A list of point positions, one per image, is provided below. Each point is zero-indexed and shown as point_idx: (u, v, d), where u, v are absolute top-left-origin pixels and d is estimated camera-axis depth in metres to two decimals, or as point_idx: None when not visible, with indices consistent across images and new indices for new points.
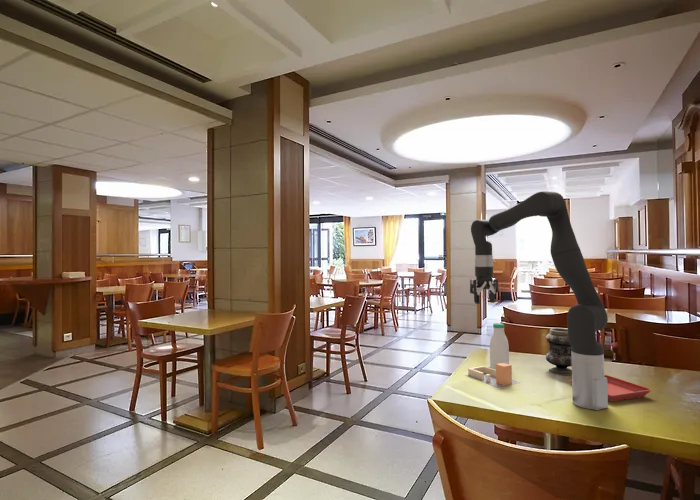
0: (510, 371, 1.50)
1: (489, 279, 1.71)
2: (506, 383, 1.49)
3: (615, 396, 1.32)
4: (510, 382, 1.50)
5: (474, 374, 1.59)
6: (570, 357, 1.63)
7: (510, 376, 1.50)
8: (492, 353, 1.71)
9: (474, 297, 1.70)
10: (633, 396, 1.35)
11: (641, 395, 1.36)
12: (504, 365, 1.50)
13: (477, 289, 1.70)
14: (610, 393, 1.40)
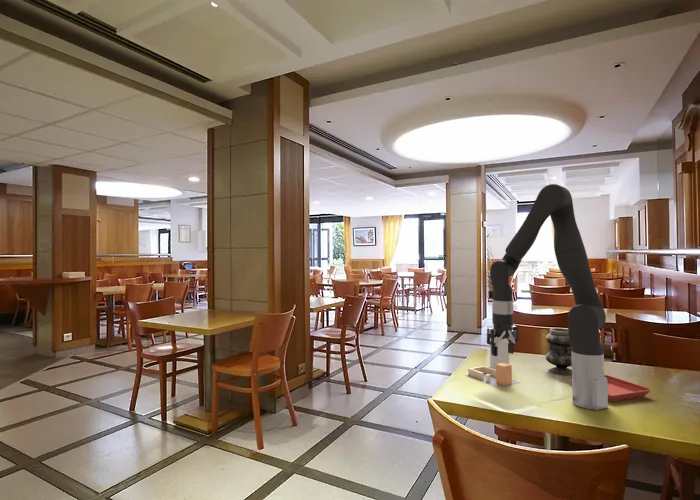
0: (510, 371, 1.50)
1: (508, 327, 1.51)
2: (506, 383, 1.49)
3: (615, 396, 1.32)
4: (510, 382, 1.50)
5: (474, 374, 1.59)
6: (570, 357, 1.63)
7: (510, 376, 1.50)
8: None
9: (491, 348, 1.50)
10: (633, 396, 1.35)
11: (641, 395, 1.36)
12: (504, 365, 1.50)
13: (495, 339, 1.50)
14: (610, 393, 1.40)
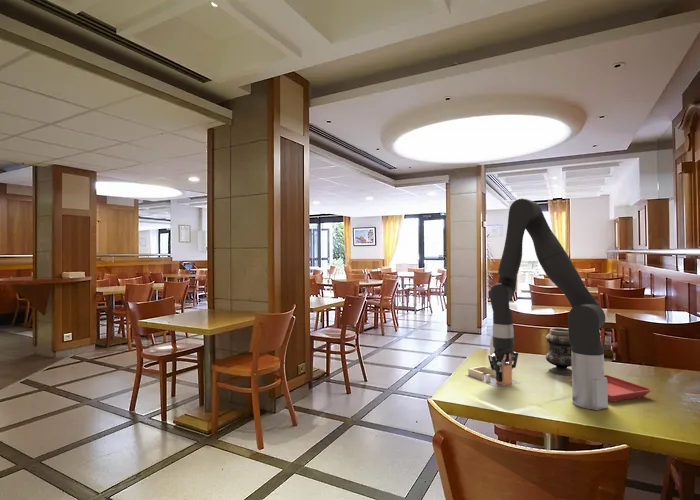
0: (510, 371, 1.50)
1: (509, 351, 1.51)
2: (506, 383, 1.49)
3: (615, 396, 1.32)
4: (510, 382, 1.50)
5: (474, 374, 1.59)
6: (570, 357, 1.63)
7: (510, 376, 1.50)
8: (492, 353, 1.71)
9: (496, 374, 1.50)
10: (633, 396, 1.35)
11: (641, 395, 1.36)
12: (504, 365, 1.50)
13: (498, 364, 1.50)
14: (610, 393, 1.40)
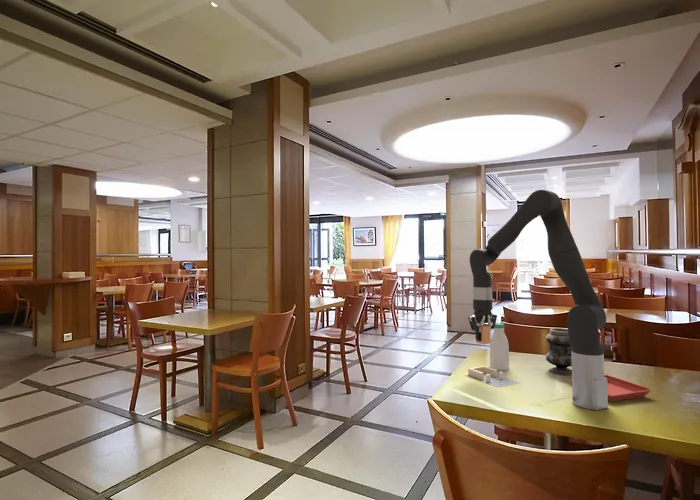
0: (489, 331, 1.59)
1: (488, 312, 1.61)
2: (485, 342, 1.58)
3: (615, 396, 1.32)
4: (489, 342, 1.59)
5: (474, 374, 1.59)
6: (570, 357, 1.63)
7: (489, 336, 1.59)
8: (492, 353, 1.71)
9: (476, 334, 1.59)
10: (633, 396, 1.35)
11: (641, 395, 1.36)
12: (483, 326, 1.59)
13: (478, 325, 1.59)
14: (610, 393, 1.40)
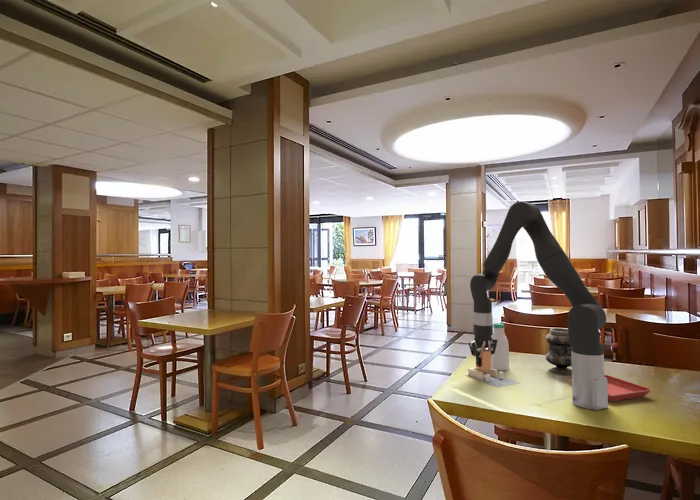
0: (489, 356, 1.59)
1: (488, 338, 1.60)
2: (485, 368, 1.58)
3: (615, 396, 1.32)
4: (489, 367, 1.59)
5: (474, 374, 1.59)
6: (570, 357, 1.63)
7: (489, 361, 1.59)
8: None
9: (476, 359, 1.59)
10: (633, 396, 1.35)
11: (641, 395, 1.36)
12: (483, 351, 1.59)
13: None
14: (610, 393, 1.40)
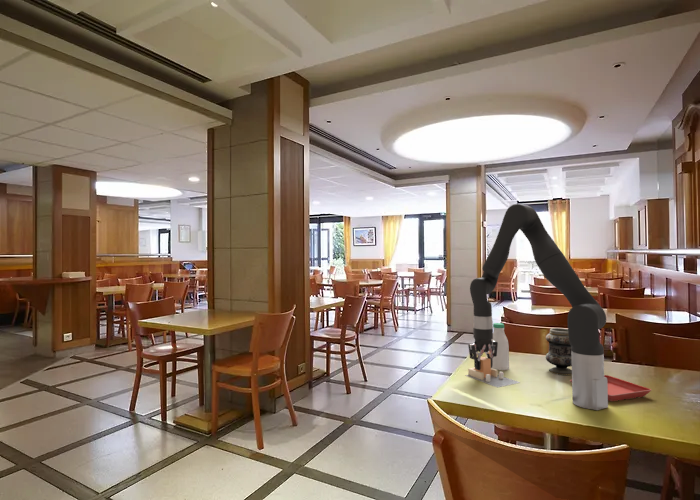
0: (490, 364, 1.59)
1: (488, 341, 1.60)
2: (485, 376, 1.58)
3: (615, 396, 1.32)
4: None
5: (474, 374, 1.59)
6: (570, 357, 1.63)
7: (489, 369, 1.59)
8: None
9: (474, 363, 1.59)
10: (633, 396, 1.35)
11: (641, 395, 1.36)
12: (483, 359, 1.59)
13: (477, 354, 1.59)
14: (610, 393, 1.40)
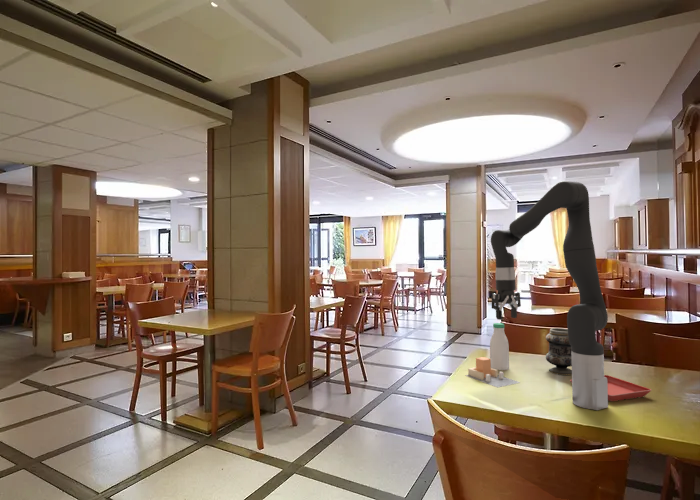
0: (490, 364, 1.59)
1: (511, 293, 1.61)
2: (485, 376, 1.58)
3: (615, 396, 1.32)
4: None
5: (474, 374, 1.59)
6: (570, 357, 1.63)
7: (489, 369, 1.59)
8: (492, 353, 1.71)
9: (496, 312, 1.59)
10: (633, 396, 1.35)
11: (641, 395, 1.36)
12: (483, 359, 1.59)
13: (499, 304, 1.59)
14: (610, 393, 1.40)
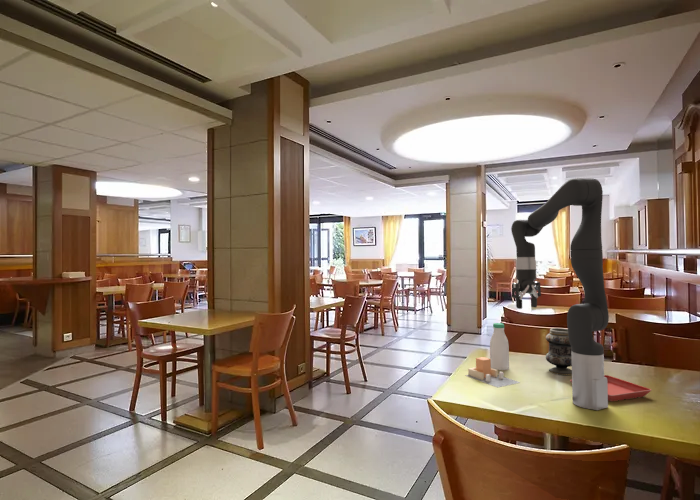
0: (490, 364, 1.59)
1: (531, 282, 1.62)
2: (485, 376, 1.58)
3: (615, 396, 1.32)
4: None
5: (474, 374, 1.59)
6: (570, 357, 1.63)
7: (489, 369, 1.59)
8: (492, 353, 1.71)
9: (516, 302, 1.60)
10: (633, 396, 1.35)
11: (641, 395, 1.36)
12: (483, 359, 1.59)
13: (519, 293, 1.60)
14: (610, 393, 1.40)
